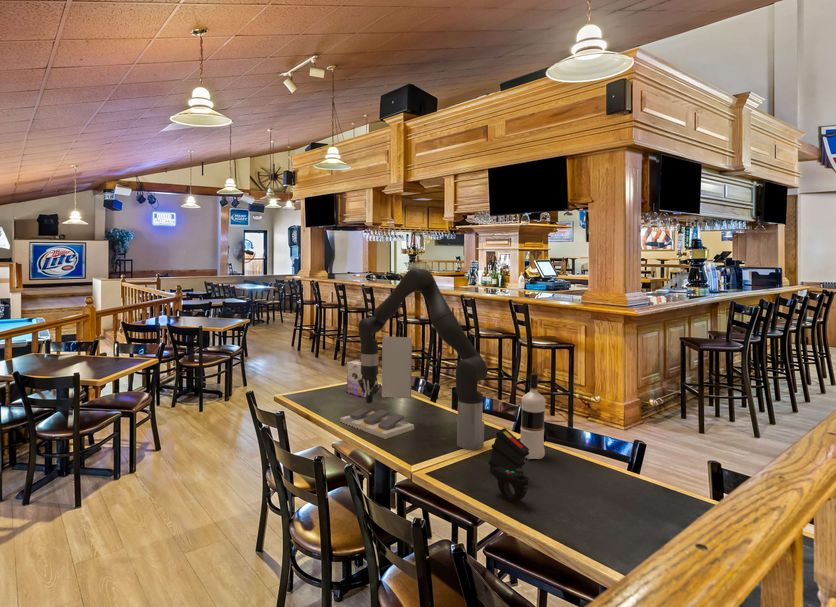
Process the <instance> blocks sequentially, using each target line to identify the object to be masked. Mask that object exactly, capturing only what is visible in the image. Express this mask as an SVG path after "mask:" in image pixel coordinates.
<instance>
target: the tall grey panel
mask: <svg viewBox="0 0 836 607" xmlns="http://www.w3.org/2000/svg"><path fill="white" fill-rule="evenodd" d="M381 340H382V343H381V344H382V348H381V365H382V366H381V398H385V397H398V398H397V399H409V398H411V397H412V362H413V361H412V357H413V354H412V353H413V352H412V348H413V337H408V336H407V337H404V336H383V338H382V339H381Z"/></svg>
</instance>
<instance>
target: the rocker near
mask: <svg viewBox="0 0 836 607" xmlns="http://www.w3.org/2000/svg"><path fill="white" fill-rule="evenodd" d="M404 419H405V416H404V415H402V414H399V413H394V414H392V415H390V417H389V418H387V419H386V420H384V421H383V422H381V423H380V424H378V427H379V428H382V429H384V430H388V429H390V428H391V427H393V426H394V425H396V424H397V423H398V422H400V421H404Z"/></svg>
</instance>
